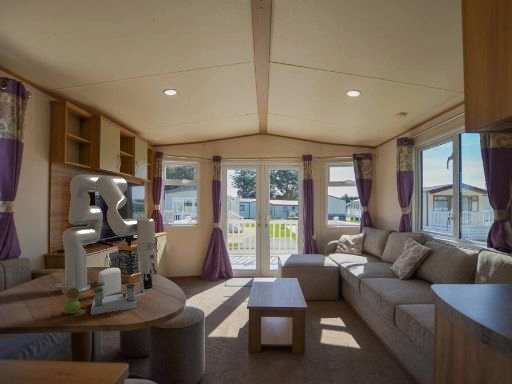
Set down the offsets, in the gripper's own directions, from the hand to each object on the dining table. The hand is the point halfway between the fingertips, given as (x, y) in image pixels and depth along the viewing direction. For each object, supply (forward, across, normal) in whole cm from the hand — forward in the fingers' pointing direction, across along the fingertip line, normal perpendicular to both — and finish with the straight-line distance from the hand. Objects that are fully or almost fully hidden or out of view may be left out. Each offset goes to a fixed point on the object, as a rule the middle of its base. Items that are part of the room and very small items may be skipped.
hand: (148, 288), depth 132 cm
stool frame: (+6, +8, +11) cm, 15 cm away
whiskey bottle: (+5, +42, -10) cm, 44 cm away
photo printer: (+6, +26, +7) cm, 27 cm away
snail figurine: (+6, +12, +27) cm, 30 cm away
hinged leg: (+3, +4, +3) cm, 6 cm away
